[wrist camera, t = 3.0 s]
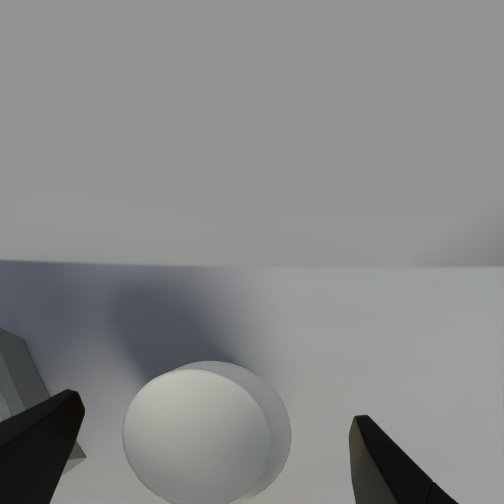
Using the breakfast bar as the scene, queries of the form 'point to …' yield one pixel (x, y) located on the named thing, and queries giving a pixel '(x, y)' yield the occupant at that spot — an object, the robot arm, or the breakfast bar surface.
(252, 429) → the supplement bottle
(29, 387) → the grey square frame
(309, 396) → the breakfast bar surface
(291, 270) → the breakfast bar surface
